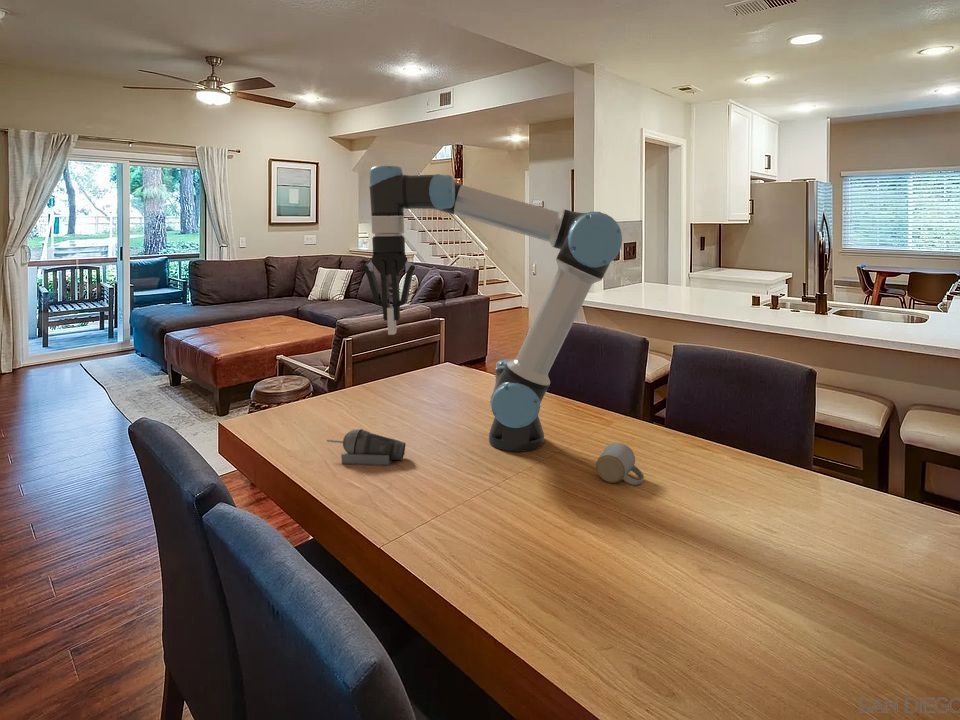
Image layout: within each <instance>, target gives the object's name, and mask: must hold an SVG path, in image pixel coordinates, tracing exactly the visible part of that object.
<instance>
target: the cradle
mask: <svg viewBox="0 0 960 720" xmlns="http://www.w3.org/2000/svg"><path fill="white" fill-rule="evenodd" d="M340 457H341V458H340V459H341V464H342V465H358V466H359V465H363V466H384V467H385V466H387V467H389V466H390V465H391V464H392V463H391V462H393V460H392V459H389V455H373V454H348V453H347V452H346V453H341V454H340Z"/></svg>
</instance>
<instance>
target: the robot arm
mask: <svg viewBox="0 0 960 720" xmlns="http://www.w3.org/2000/svg"><path fill="white" fill-rule="evenodd" d="M370 168H371V169H370V170H369V187H368V189H369V196H370V197H369V198H370V210H371V212H370V213H371V217H370V218H371V233H372V234H373V235H374V236H372V239H371V241H372V242H371V243H372V257H371V259H370V261H369V262H367V264H364V265H362V268H361V269H362V270H363V272H364V273H365V275H366V277H367V280H368V284H369V287H370V290H371V294H372V297H373V301H374V304H375V305H376V306H380V307H381V308H382V315H383V316H382V317H383V321H387V334H388V336H389V335H393V336H394V335H395V334H397V333H398V332H397V331H398V330H397V321H400V319H401V309H400V308H401V306H404V305H406V304H407V303H408V299H409V295H410V289H411V284H412V280H413V274H414V273H415V271H416V270H417V265H416V264H413V263H411V262H410V261H408V257H407V256H406V246H405V243H406V242H405V237H404V236H403V235H402V234H404V233H405V219H404V218H405V217H404V211H405V209H406V210H412V209H413V210H419V209H421V210H436V211H440V212H443V213H447V214H451V215H455V216H459V217H462V218H466V219H468V220H472V221H475V222H479V223H482V224H486V225H489V226H491V227H492V226H493V227H496V228H499V229H504V230H507V231H510V232H513V233H517V234H521V235H523V236H528V237H532V238H535V239H538V240H541V241H544V242H548V243H549V244H550V245H551V247H552V248H555V249H558V250H559V252H558V254H557V256H556V258H555V260H556V264H557V267H558V269H557V271H556V273H555V275H554V278H553V279H552V282H551V284H550V286H549V288H548V291H547V293H546V294H545V296H544V298H543V301H542V303H541V305H540V307H539V309H538V311H537V313H536V316H535V318H534V319H533V322H532V323H531V327H530V328H529V330H528V333H527V334H526V337H525V338H524V341H523V343H522V345H521V347H520V349H519V351H518V353H517V355H516V358H513V359H511V358H510V359H509V358H507V359H501V360H498V361H497V362H496V363H495V365H496V366H495V369H494V370H495V385H494V388H493V392H492V394H491V396H490V409H491V412H492V414H493V417H494V418H493V421H492V423H491V427H490V429H489V433H488V442H489V444H490V446H492V447H494V448H496V449H499V450H501V451H506V452H507V451H508V452H518V453H521V452H530V451H534V450H538V449H540V448H541V447H542V446H543V445H544V444H545V432H544V430H543V427H542V426H543V425H542V424H541V419H540V417H539V413H540V410H541V403H542V401H543V399H544V396H545V395H546V393H547V391H548V389H549V387H550V384H551V380H550V378H549V372H550V371H551V368H552V366H553V365H554V362H555V360H556V358H557V356H558V354H559V353H560V351H561V348H562V346H563V344H564V342H565V340H566V338H567V336H568V334H569V332H570V330H571V328H572V326H573V324H574V322H575V321H576V318H577V316H578V314H579V312H580V310H581V308H582V306H583V304H584V302H585V299H586V298H587V296H588V293H589V292H590V289H591V287H592V286H593V284H595V283H598V282H601V281H602V280H603V278H604V276H605V274H606V272H607V271H608V268H609V266H610V264H611V263H612V262H613V261H614V260H615V259H616V257H618V255H619V253H620V252H621V249H622V244H623V235H622V234H623V233H622V231H621V227H620V226H619V224H618V222H617V220H615V219H614V218H613V217H612V216H610V215H609V214H607V213H603V212H601V211H590V212H589V211H588V212H580V211H579V212H578V211H573V210H572V211H571V210H569V209H565V208H563V209H561V210H559V211H556V210H553V209H548V208H545V207H542V206H538V205H535V204H531V203H528V202H524V201H520V200H517V199H514V198H509V197H506V196H503V195H499V194H496V193H492V192H489V191H486V190H482V189H478V188H475V187H470V186H467V185H464V184H460V183H457V182H455V180H454V178H453V176H452V175H449V174H439V173H438V174H437V173H436V174H421V175H420V174H418V175H417V174H415V175H408V174H407V175H406V174H404V173H403V169H402V167H400V166H397V165H376V166H373V167H370ZM404 267H405V272H406V273H405V275H404V281H403V287H402V291H401V293H400V273H401V272H402V270H403V269H404ZM375 268H376V270H377V272H378V273H379V275H380V280H381V281H380V283H381V292H380V289H379V284H378V281H377V278H376V274H375ZM390 278H391V292H392V306H391V302H390V284H389V283H390V282H389V279H390ZM400 294H401V295H400ZM400 296H401V297H400Z"/></svg>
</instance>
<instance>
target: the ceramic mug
mask: <svg viewBox="0 0 960 720" xmlns="http://www.w3.org/2000/svg"><path fill="white" fill-rule="evenodd" d="M635 464H636V456H635V453H634V451H633V450H632V448H631V447H629V446H628V445H627V444H625V443H623V442H612V443H610V444H609V443H608V445H607V446H606V447H605V449H603V451H602V452H601V454H600V455H599V457H598V458H597V460H596V464H595V470H596V473H597V475H598V476H599V477H600V478H601V480H603V481H605V482H607V483H611V484H614V483H618V482H621V481H622V480H623V481H625V482H626V483H628V484H629V485H633V486H639V485H641V484H640V483H642V482H643V481H644V478H645V475H644V473H643V472H642V471H641V469H640V468H638V467H637V465H635ZM630 472H632V473H634V474H635V475H636V476H637V477H638V478H639V479H635V478H632V477H631V476H629V475H628V474H629V473H630ZM638 484H639V485H638Z"/></svg>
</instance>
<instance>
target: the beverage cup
mask: <svg viewBox="0 0 960 720" xmlns="http://www.w3.org/2000/svg"><path fill="white" fill-rule="evenodd" d="M326 442H327V443H338V444H342V447H343V449H344V451H345V452H346V453H348V454H373V455H389V459H392V461H396V460H397V461H402V460H403V459H404V455H405V453H406V452H405V451H406V442H405V441H400V440H398V439H394V438H390V437H386V436H383V435H380V434H376V433H371V432H370V431H367V430H364V429H363V428H360V429H352V430H350V431H348V432H347V433H346V434H345V435H344V436H343V440H338V439H337V440H334V439H326Z"/></svg>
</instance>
